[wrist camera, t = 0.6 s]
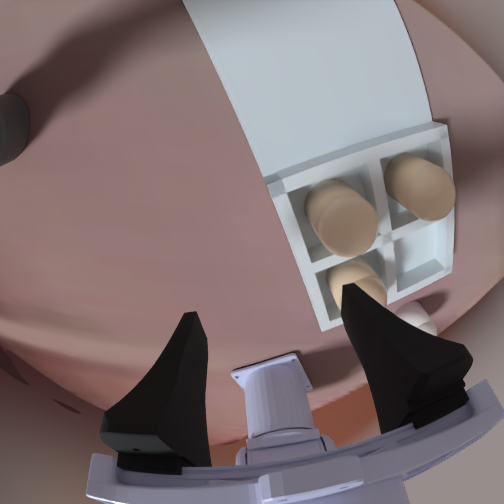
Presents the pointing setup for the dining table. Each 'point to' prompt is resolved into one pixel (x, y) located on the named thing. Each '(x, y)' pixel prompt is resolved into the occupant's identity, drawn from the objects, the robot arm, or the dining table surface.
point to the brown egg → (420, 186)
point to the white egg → (417, 317)
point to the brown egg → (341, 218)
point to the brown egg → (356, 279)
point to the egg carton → (332, 124)
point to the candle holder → (12, 127)
